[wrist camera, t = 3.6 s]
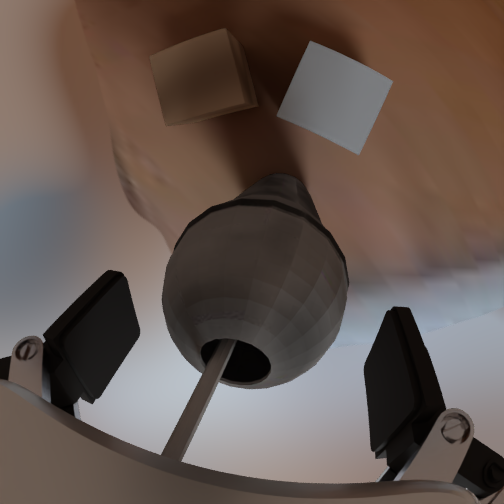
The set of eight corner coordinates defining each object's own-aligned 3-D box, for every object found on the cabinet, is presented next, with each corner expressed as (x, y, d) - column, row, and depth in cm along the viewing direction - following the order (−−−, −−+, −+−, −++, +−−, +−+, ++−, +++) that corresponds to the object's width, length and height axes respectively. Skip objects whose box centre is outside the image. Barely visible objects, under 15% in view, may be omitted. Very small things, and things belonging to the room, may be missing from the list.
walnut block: (181, 66, 17) (149, 56, 13) (243, 46, 16) (225, 27, 12) (195, 122, 19) (165, 126, 15) (258, 106, 18) (244, 102, 14)
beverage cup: (341, 226, 21) (387, 525, 4) (259, 256, 24) (173, 514, 6) (304, 139, 18) (306, 468, 1) (217, 179, 21) (-3, 397, 4)
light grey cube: (308, 58, 16) (310, 40, 11) (372, 89, 16) (392, 81, 11) (282, 117, 18) (276, 116, 14) (345, 146, 18) (358, 155, 14)
